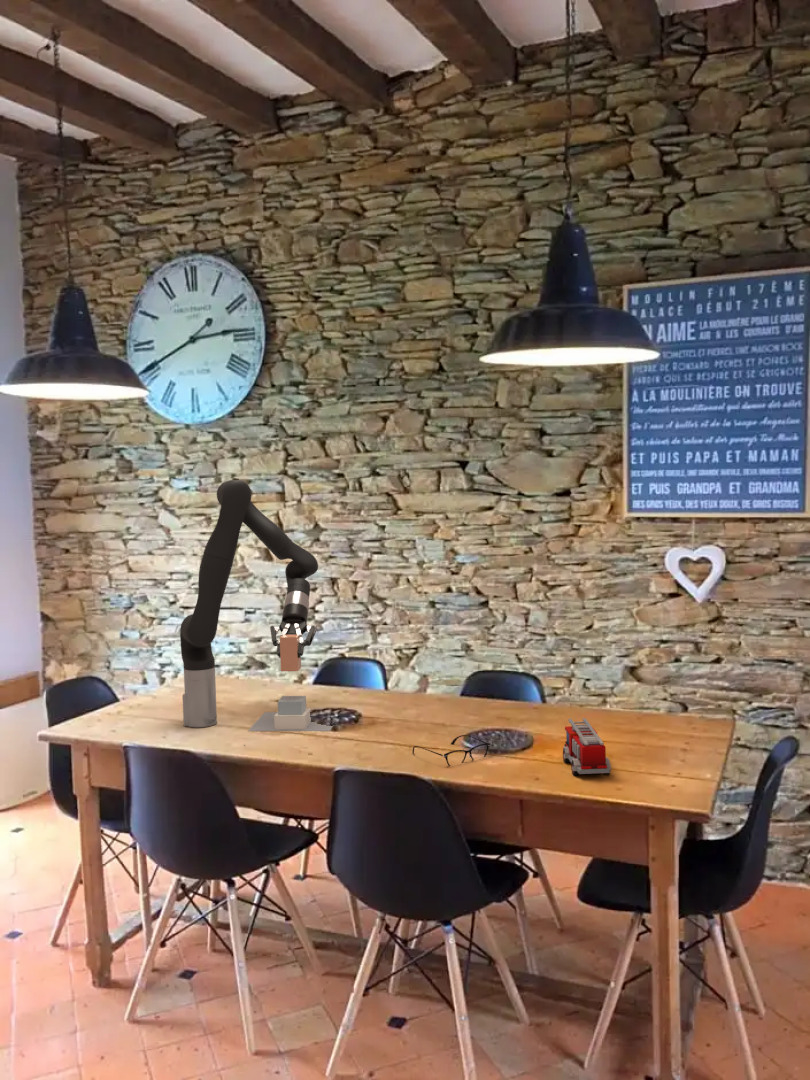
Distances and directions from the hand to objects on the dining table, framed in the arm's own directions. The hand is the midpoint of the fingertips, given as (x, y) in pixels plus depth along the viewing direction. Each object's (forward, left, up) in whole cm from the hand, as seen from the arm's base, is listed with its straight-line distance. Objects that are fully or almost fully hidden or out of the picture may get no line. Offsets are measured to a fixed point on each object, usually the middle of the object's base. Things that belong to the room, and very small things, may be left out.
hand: (289, 656), depth 271 cm
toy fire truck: (+81, -36, -22) cm, 91 cm away
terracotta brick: (0, +2, -4) cm, 5 cm away
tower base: (0, +2, -21) cm, 21 cm away
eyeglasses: (+47, -25, -22) cm, 58 cm away
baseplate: (0, +7, -22) cm, 23 cm away
